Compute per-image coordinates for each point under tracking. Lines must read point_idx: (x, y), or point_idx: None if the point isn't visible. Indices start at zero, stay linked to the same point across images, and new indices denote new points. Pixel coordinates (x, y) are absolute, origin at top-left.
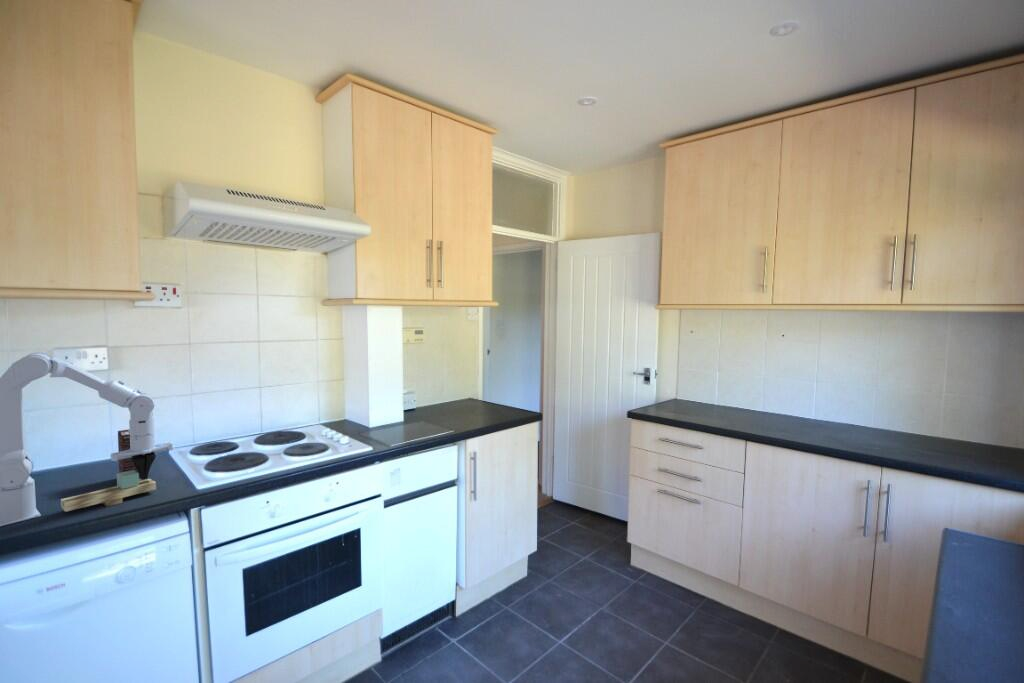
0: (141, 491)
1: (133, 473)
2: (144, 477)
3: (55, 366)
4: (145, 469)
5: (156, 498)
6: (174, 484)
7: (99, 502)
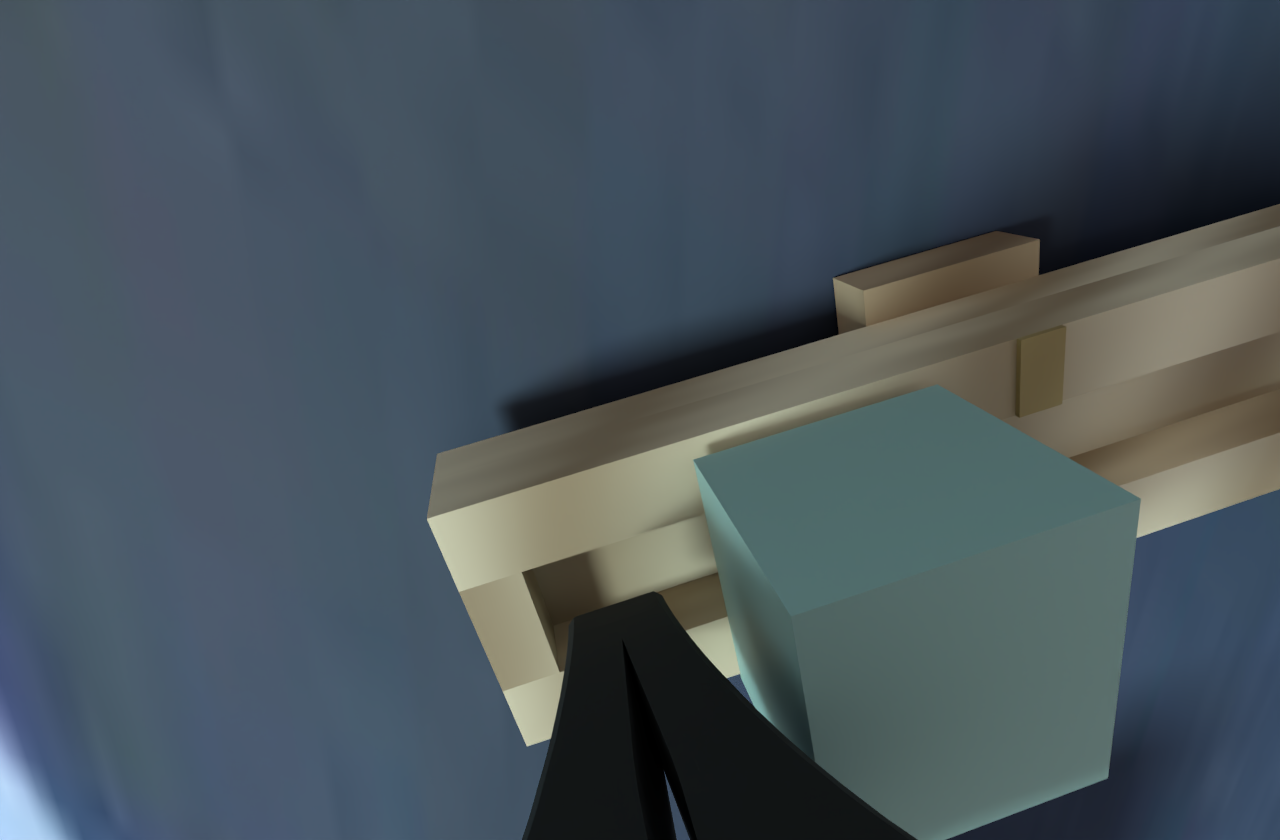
0: (635, 402)
1: (890, 641)
2: (625, 620)
3: None
4: (639, 776)
5: (419, 154)
6: (230, 676)
7: (1107, 261)
